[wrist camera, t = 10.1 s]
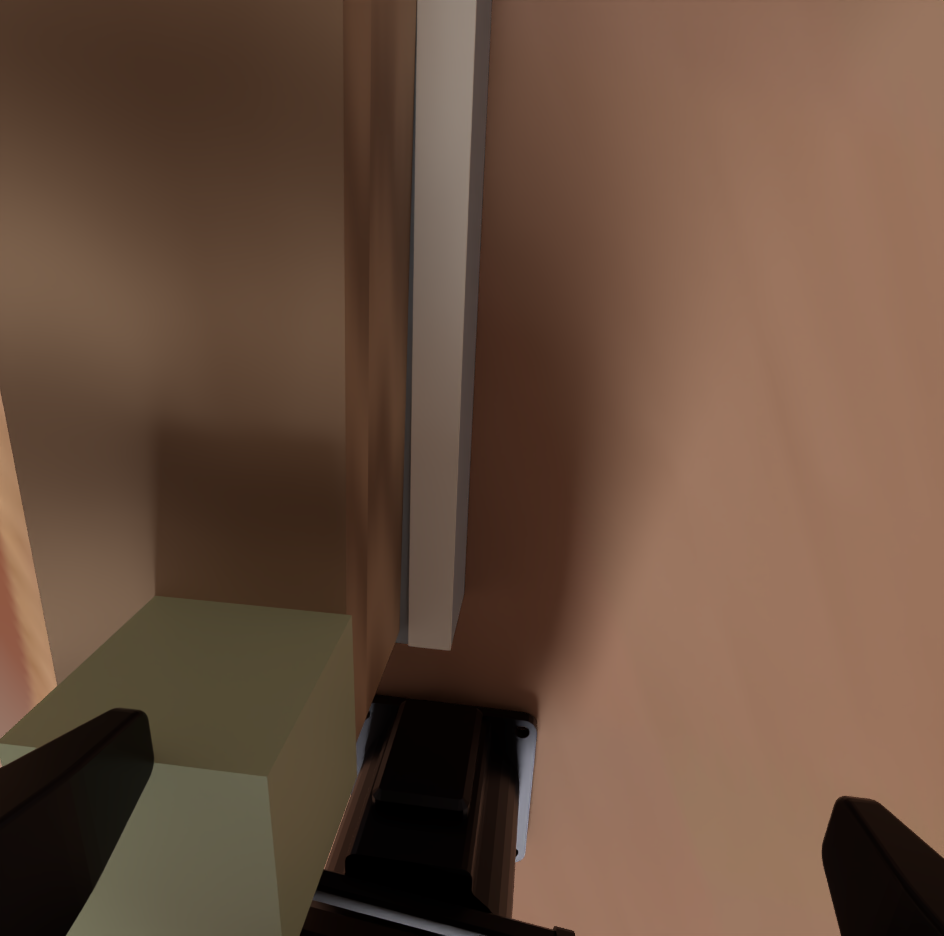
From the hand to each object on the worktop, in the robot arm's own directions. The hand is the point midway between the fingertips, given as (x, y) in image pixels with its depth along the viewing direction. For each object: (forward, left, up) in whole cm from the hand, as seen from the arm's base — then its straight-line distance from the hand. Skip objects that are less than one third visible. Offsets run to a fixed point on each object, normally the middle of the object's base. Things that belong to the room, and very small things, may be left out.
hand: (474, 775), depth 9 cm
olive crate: (-2, +5, -4) cm, 7 cm away
